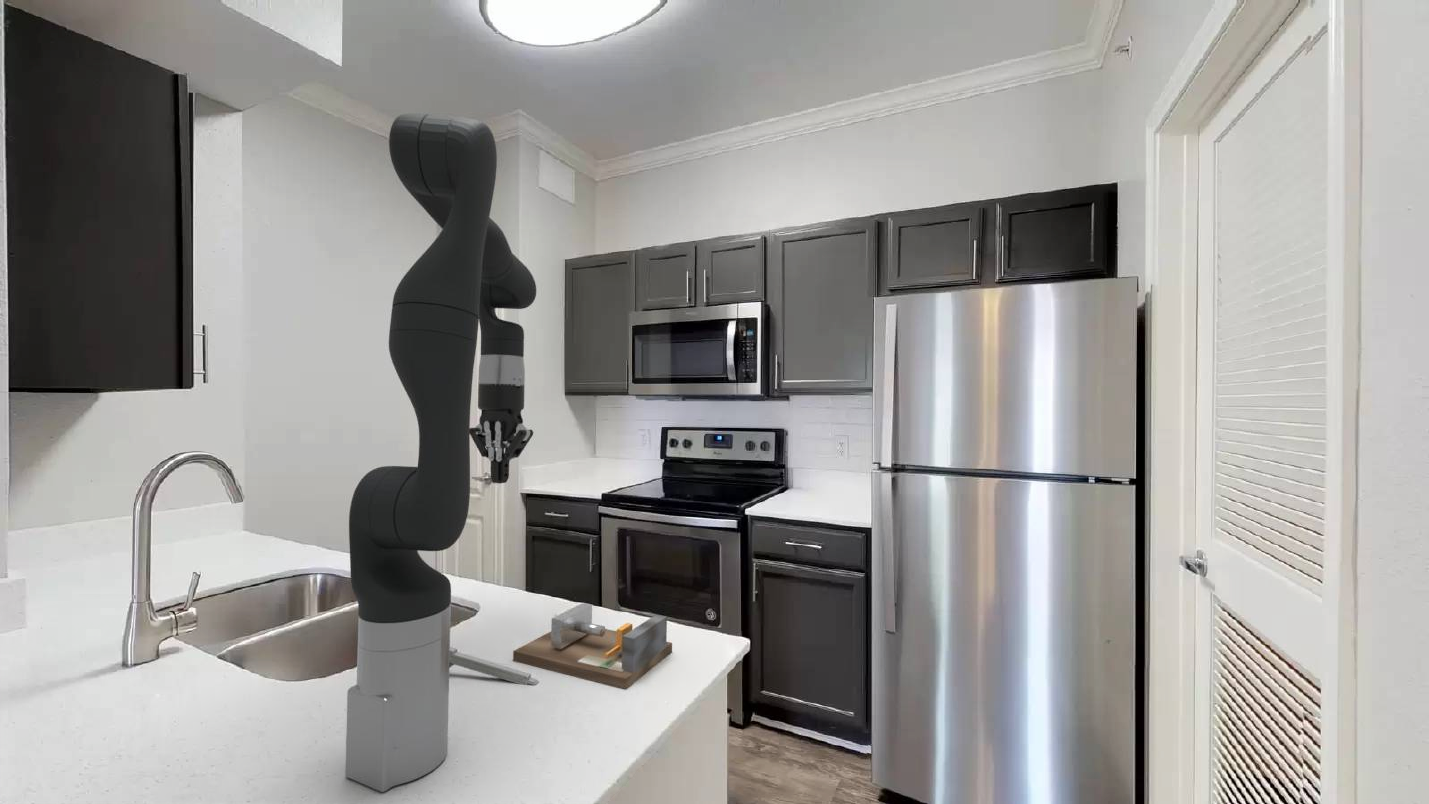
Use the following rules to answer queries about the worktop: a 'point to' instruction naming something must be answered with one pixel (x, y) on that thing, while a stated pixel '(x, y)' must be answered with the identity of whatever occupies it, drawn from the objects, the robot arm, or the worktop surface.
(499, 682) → the worktop surface
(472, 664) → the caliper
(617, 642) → the orange paddle
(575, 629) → the plunger
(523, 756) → the worktop surface
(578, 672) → the gauge board
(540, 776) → the worktop surface
